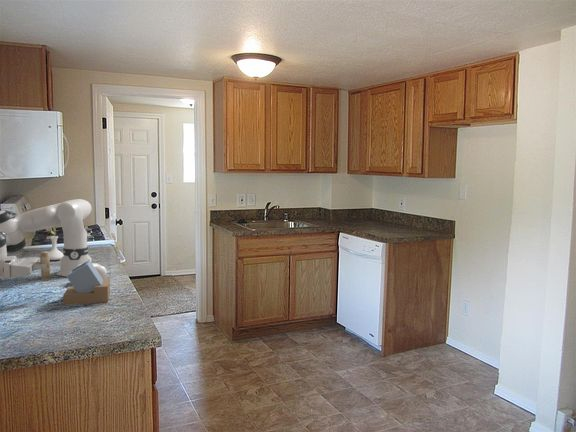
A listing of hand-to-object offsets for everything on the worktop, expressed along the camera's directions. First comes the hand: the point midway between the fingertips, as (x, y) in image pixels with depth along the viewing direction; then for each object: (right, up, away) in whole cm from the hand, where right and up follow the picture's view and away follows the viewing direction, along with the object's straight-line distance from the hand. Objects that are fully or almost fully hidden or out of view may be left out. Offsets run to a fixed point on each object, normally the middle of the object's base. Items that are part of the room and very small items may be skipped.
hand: (47, 265), depth 198 cm
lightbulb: (+14, -13, +20) cm, 28 cm away
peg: (-1, -7, 0) cm, 7 cm away
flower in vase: (-38, -6, +82) cm, 90 cm away
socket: (+15, -15, +4) cm, 22 cm away
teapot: (+4, -12, +33) cm, 35 cm away
